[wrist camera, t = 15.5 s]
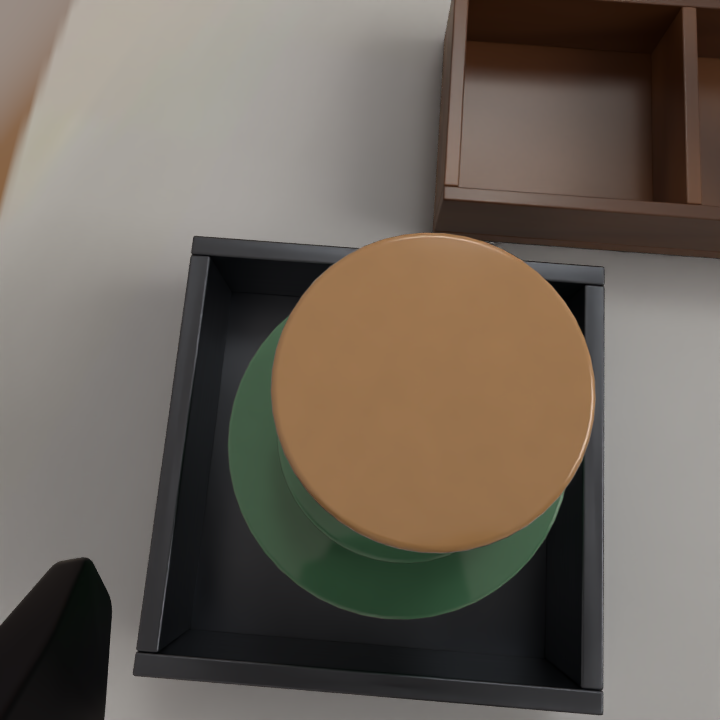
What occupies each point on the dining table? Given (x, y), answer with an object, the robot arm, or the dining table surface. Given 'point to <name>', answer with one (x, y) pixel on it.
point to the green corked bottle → (412, 426)
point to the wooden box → (582, 124)
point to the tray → (303, 610)
